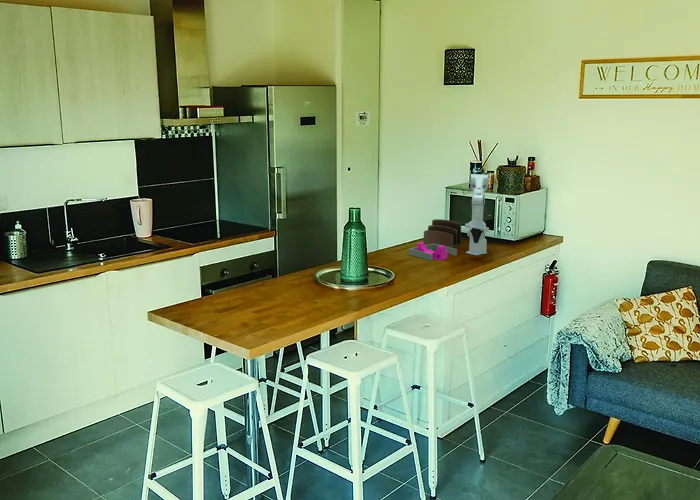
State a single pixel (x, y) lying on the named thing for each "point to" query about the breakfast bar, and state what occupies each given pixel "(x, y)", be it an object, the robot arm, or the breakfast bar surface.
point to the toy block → (438, 254)
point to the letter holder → (443, 233)
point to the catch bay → (427, 255)
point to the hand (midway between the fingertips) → (476, 242)
